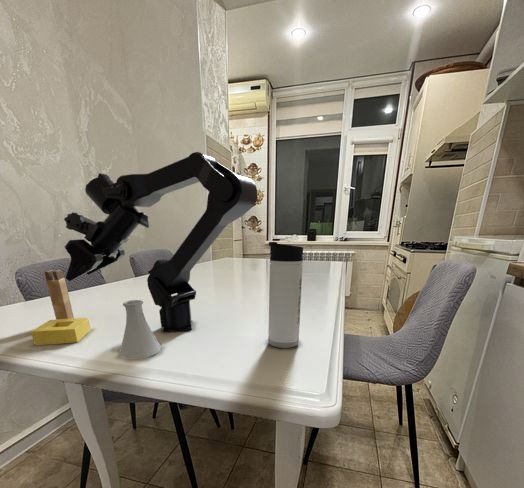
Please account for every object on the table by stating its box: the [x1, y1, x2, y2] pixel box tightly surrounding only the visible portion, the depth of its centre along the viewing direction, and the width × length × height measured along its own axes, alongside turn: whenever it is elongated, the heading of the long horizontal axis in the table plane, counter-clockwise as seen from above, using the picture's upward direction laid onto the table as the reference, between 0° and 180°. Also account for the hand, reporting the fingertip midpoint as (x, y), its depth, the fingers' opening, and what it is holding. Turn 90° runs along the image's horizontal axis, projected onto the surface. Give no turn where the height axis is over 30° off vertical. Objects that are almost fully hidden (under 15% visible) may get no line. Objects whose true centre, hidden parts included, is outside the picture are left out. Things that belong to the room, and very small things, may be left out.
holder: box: [30, 317, 92, 346], centre depth 63 cm, size 8×8×3 cm
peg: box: [43, 269, 75, 320], centre depth 71 cm, size 3×3×13 cm
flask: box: [118, 299, 162, 360], centre depth 54 cm, size 7×7×10 cm
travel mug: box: [267, 241, 304, 349], centre depth 57 cm, size 6×7×20 cm
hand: (77, 276), depth 70 cm, fingers open, 9 cm apart
